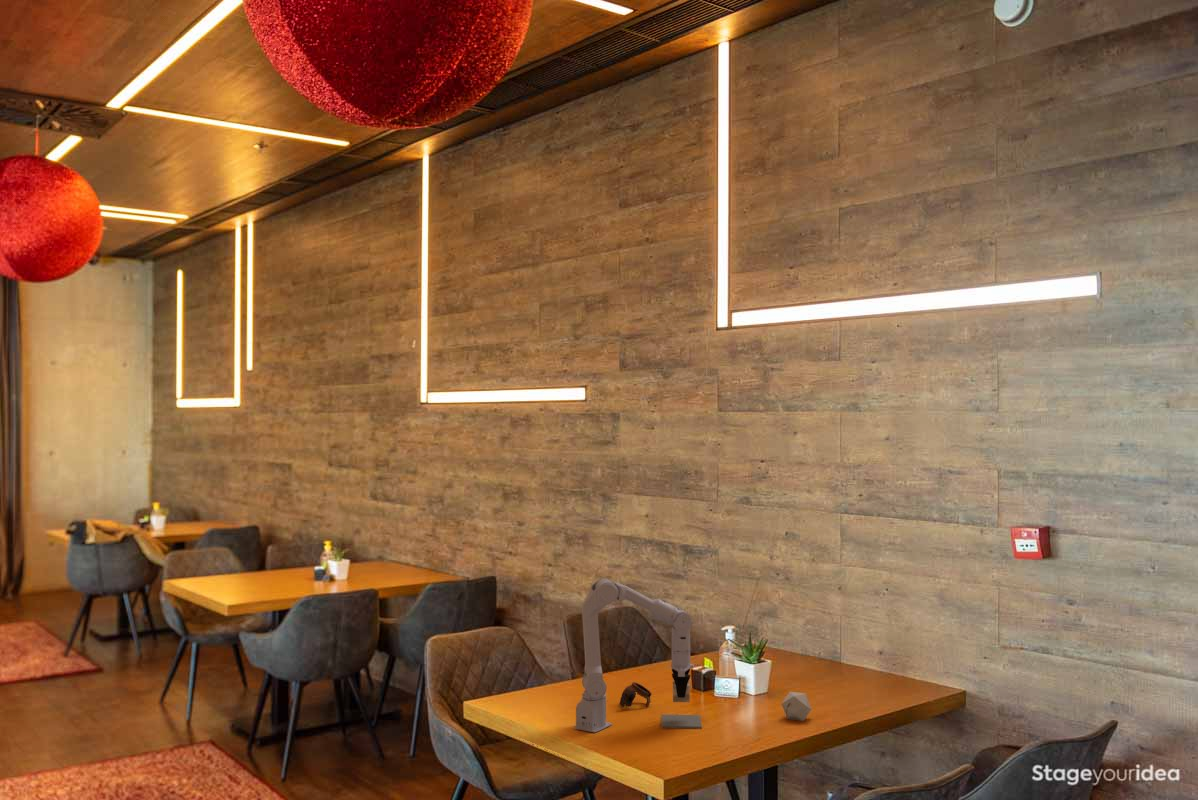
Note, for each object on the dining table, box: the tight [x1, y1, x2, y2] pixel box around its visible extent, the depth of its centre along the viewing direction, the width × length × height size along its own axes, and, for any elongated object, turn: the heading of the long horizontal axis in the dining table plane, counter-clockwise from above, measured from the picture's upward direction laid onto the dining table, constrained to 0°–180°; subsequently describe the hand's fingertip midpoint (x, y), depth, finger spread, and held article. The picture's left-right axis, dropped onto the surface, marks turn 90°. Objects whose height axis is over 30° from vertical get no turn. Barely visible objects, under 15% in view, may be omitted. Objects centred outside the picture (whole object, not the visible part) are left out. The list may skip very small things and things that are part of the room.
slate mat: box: [661, 714, 703, 730], centre depth 303 cm, size 12×12×1 cm
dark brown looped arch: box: [619, 681, 653, 708], centre depth 321 cm, size 12×10×8 cm
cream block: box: [672, 680, 691, 703], centre depth 303 cm, size 5×5×5 cm
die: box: [781, 691, 813, 722], centre depth 307 cm, size 8×9×10 cm
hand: (681, 694), depth 303 cm, fingers closed on cream block, 5 cm apart
